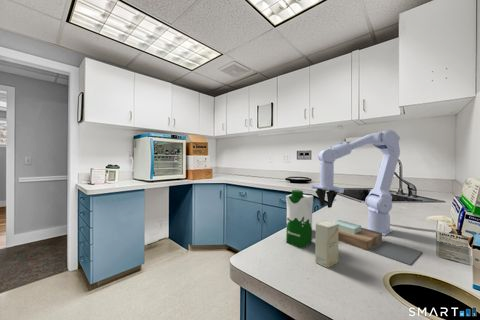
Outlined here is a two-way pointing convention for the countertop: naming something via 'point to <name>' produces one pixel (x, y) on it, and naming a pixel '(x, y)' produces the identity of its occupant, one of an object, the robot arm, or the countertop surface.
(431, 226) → the countertop surface
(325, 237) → the skincare box
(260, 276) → the countertop surface
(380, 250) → the mat
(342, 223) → the mint green flat block
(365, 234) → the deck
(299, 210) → the milk carton
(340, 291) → the countertop surface
